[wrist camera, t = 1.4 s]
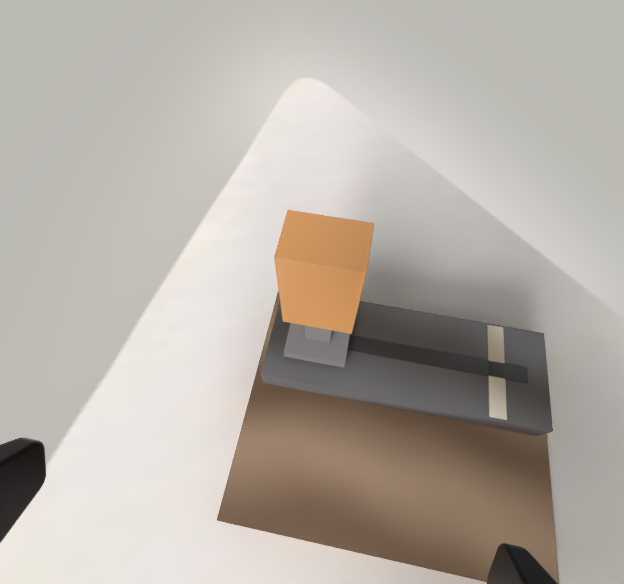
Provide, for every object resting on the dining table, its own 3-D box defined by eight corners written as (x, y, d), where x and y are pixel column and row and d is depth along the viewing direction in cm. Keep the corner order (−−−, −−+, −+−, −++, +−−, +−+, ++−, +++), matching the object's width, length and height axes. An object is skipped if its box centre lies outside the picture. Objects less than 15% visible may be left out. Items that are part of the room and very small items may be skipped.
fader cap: (343, 367, 19) (364, 286, 12) (284, 356, 20) (270, 270, 13) (352, 313, 21) (375, 212, 14) (296, 303, 21) (290, 198, 14)
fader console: (542, 592, 18) (582, 606, 15) (223, 519, 19) (209, 521, 17) (525, 346, 24) (553, 326, 21) (279, 303, 25) (276, 278, 22)
